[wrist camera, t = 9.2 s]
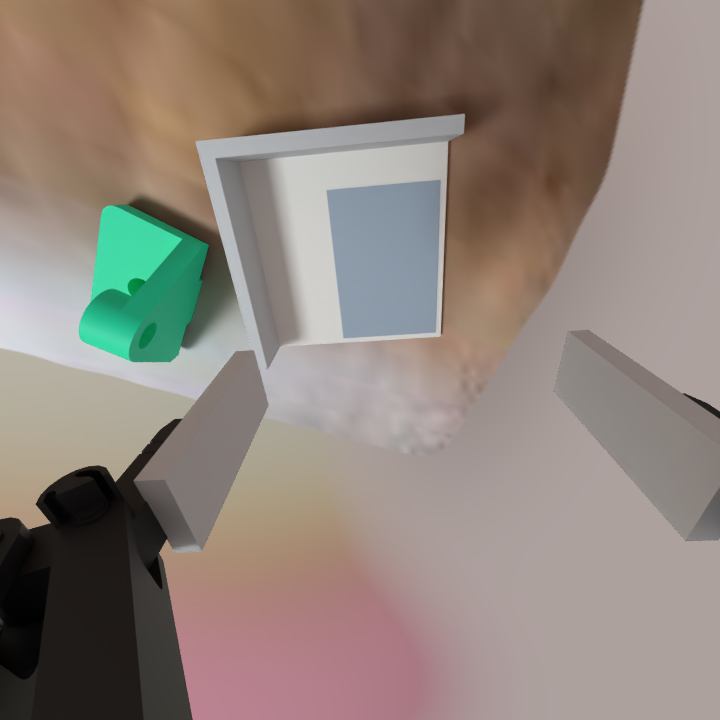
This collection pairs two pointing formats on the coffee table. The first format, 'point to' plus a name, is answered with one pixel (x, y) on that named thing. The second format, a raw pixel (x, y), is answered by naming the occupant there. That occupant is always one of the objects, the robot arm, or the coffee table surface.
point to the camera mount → (142, 286)
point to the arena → (334, 230)
